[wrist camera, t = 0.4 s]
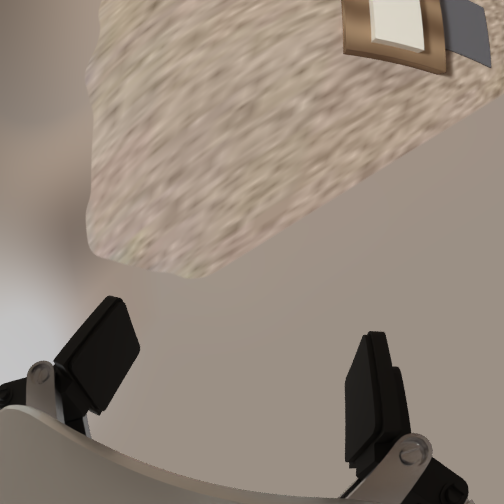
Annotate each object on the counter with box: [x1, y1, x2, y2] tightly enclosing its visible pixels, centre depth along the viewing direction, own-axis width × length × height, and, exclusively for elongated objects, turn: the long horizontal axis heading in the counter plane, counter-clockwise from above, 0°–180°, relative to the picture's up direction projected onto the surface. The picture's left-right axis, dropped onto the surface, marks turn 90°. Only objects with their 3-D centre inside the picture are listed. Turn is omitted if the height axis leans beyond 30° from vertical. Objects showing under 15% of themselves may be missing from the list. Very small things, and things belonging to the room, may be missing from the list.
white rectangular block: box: [369, 0, 424, 53], centre depth 19 cm, size 9×6×2 cm, turn 0°
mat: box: [439, 0, 491, 68], centre depth 19 cm, size 11×10×1 cm
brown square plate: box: [341, 0, 446, 74], centre depth 21 cm, size 13×13×3 cm
